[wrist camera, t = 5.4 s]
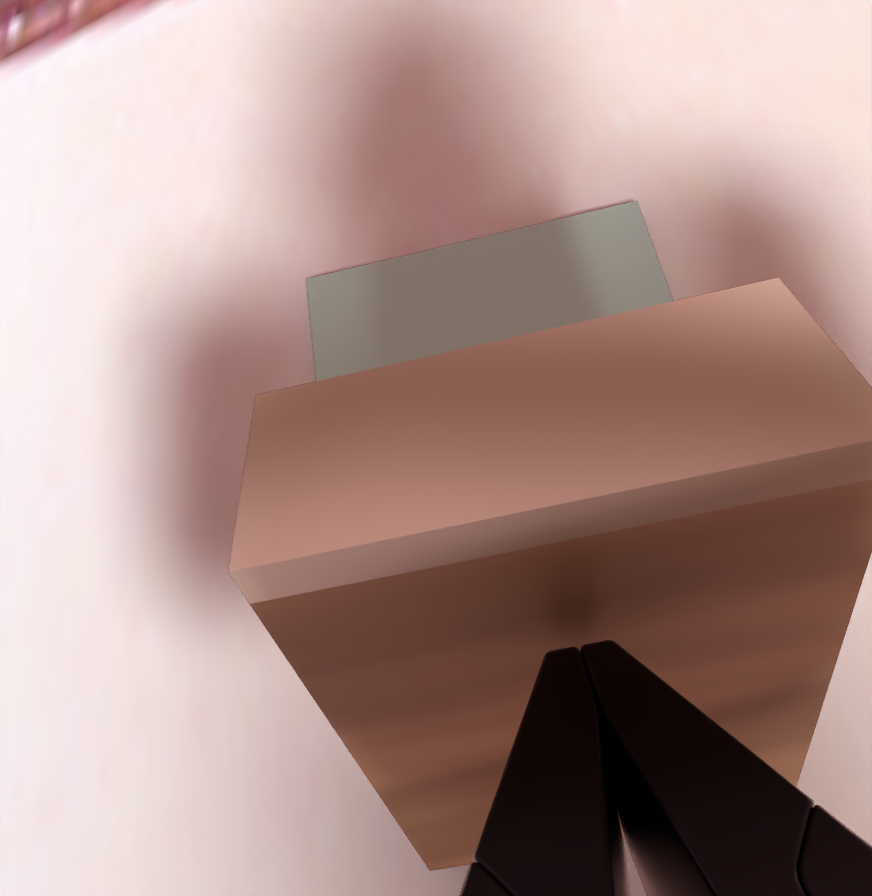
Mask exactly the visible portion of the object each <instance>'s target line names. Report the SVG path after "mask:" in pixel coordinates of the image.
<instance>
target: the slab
mask: <svg viewBox="0 0 872 896" xmlns="http://www.w3.org/2000/svg"><path fill="white" fill-rule="evenodd" d="M871 552H872V387H871V386H870V385H869V383H868V382H867V381H866V380H865V379H864V378H863V376H862V375H861V374H860V373H859V372H858V370H857V369H856V368H855V367H854V366H853V365H852V363H851V362H850V361H849V360H848V359H847V357H846V356H845V355H844V354H843V353H842V352H841V350H840V349H839V348H838V347H837V346H836V345H835V343H834V342H833V341H832V340H831V339H830V337H829V336H828V335H827V334H826V333H825V332H824V330H823V329H822V328H821V327H820V326H819V324H818V323H817V322H816V321H815V320H814V319H813V317H812V316H811V315H810V314H809V313H808V312H807V310H806V309H805V308H804V307H803V306H802V304H801V303H800V302H799V301H798V300H797V299H796V297H795V296H794V295H793V294H792V293H791V291H790V290H789V289H788V288H787V287H786V286H785V284H784V283H783V282H782V281H781V280H780V279H779V278H774V279H770V280H765V281H761V282H756V283H752V284H747V285H743V286H739V287H734V288H730V289H725V290H721V291H716V292H712V293H707V294H703V295H698V296H694V297H690V298H685V299H681V300H676V301H672V302H667V303H663V304H658V305H654V306H650V307H645V308H641V309H636V310H632V311H627V312H623V313H618V314H614V315H609V316H605V317H601V318H596V319H592V320H587V321H583V322H578V323H574V324H569V325H565V326H560V327H556V328H552V329H547V330H543V331H538V332H534V333H529V334H525V335H520V336H516V337H512V338H507V339H503V340H498V341H494V342H489V343H485V344H480V345H476V346H471V347H467V348H463V349H458V350H454V351H449V352H445V353H440V354H436V355H431V356H427V357H422V358H418V359H414V360H409V361H405V362H400V363H396V364H391V365H387V366H382V367H378V368H374V369H369V370H365V371H360V372H356V373H351V374H347V375H342V376H338V377H333V378H329V379H325V380H320V381H316V382H311V383H307V384H302V385H298V386H293V387H289V388H284V389H280V390H276V391H271V392H267V393H262V394H258V395H256V397H255V403H254V409H253V416H252V422H251V428H250V435H249V441H248V447H247V454H246V460H245V467H244V473H243V479H242V486H241V492H240V498H239V505H238V511H237V517H236V524H235V530H234V537H233V543H232V549H231V556H230V562H229V568H228V573H229V574H230V576H231V577H232V579H233V580H234V582H235V583H236V585H237V586H238V588H239V589H240V591H241V592H242V594H243V595H244V597H245V598H246V599H247V601H248V602H249V604H250V605H251V607H252V608H253V610H254V611H255V613H256V614H257V616H258V617H259V619H260V620H261V622H262V623H263V625H264V626H265V628H266V629H267V630H268V632H269V633H270V635H271V636H272V638H273V639H274V641H275V642H276V644H277V645H278V647H279V648H280V650H281V651H282V653H283V654H284V656H285V657H286V659H287V660H288V662H289V663H290V664H291V666H292V667H293V669H294V670H295V672H296V673H297V675H298V676H299V678H300V679H301V681H302V682H303V684H304V685H305V687H306V688H307V690H308V691H309V693H310V694H311V696H312V697H313V698H314V700H315V701H316V703H317V704H318V706H319V707H320V709H321V710H322V712H323V713H324V715H325V716H326V718H327V719H328V721H329V722H330V724H331V725H332V727H333V728H334V729H335V731H336V732H337V734H338V735H339V737H340V738H341V740H342V741H343V743H344V744H345V746H346V747H347V749H348V750H349V752H350V753H351V755H352V756H353V758H354V759H355V761H356V762H357V763H358V765H359V766H360V768H361V769H362V771H363V772H364V774H365V775H366V777H367V778H368V780H369V781H370V783H371V784H372V786H373V787H374V789H375V790H376V792H377V793H378V795H379V796H380V797H381V799H382V800H383V802H384V803H385V805H386V806H387V808H388V809H389V811H390V812H391V814H392V815H393V817H394V818H395V820H396V821H397V823H398V824H399V826H400V827H401V828H402V830H403V831H404V833H405V834H406V836H407V837H408V839H409V840H410V842H411V843H412V845H413V846H414V848H415V849H416V851H417V852H418V854H419V855H420V857H421V858H422V860H423V861H424V862H425V864H426V865H427V867H428V868H429V870H430V871H431V870H438V869H444V868H450V867H456V866H462V865H468V864H471V863H472V862H474V861H473V856H474V853H475V850H476V848H477V845H478V842H479V839H480V836H481V833H482V831H483V828H484V825H485V822H486V819H487V816H488V814H489V811H490V808H491V805H492V802H493V799H494V797H495V794H496V791H497V788H498V785H499V782H500V780H501V777H502V774H503V771H504V768H505V765H506V763H507V760H508V757H509V754H510V751H511V749H512V746H513V743H514V740H515V737H516V734H517V732H518V729H519V726H520V723H521V720H522V717H523V715H524V712H525V709H526V706H527V703H528V700H529V698H530V695H531V692H532V689H533V686H534V683H535V681H536V678H537V675H538V672H539V669H540V666H541V664H542V661H543V658H544V656H545V654H546V653H547V652H548V651H551V650H557V649H562V648H567V647H577V648H578V649H579V650H580V648H581V646H582V645H584V644H589V643H594V642H599V641H605V640H612V641H615V642H616V643H617V644H618V645H620V646H621V647H622V648H623V649H625V650H626V651H627V652H628V653H630V654H631V655H632V656H633V657H635V658H636V659H637V660H638V661H640V662H641V663H642V664H643V665H645V666H646V667H647V668H648V669H650V670H651V671H652V672H653V673H655V674H656V675H657V676H658V677H660V678H661V679H662V680H663V681H665V682H666V683H667V684H668V685H670V686H671V687H672V688H673V689H675V690H676V691H677V692H678V693H680V694H681V695H682V696H683V697H685V698H686V699H687V700H688V701H690V702H691V703H692V704H693V705H695V706H696V707H697V708H698V709H700V710H701V711H702V712H703V713H705V714H706V715H707V716H708V717H710V718H711V719H712V720H713V721H715V722H716V723H717V724H718V725H720V726H721V727H722V728H723V729H725V730H726V731H727V732H728V733H730V734H731V735H732V736H733V737H735V738H736V739H737V740H738V741H740V742H741V743H742V744H743V745H745V746H746V747H747V748H748V749H750V750H751V751H752V752H753V753H755V754H756V755H757V756H758V757H760V758H761V759H762V760H763V761H765V762H766V763H767V764H768V765H770V766H771V767H772V768H773V769H775V770H776V771H777V772H778V773H780V774H781V775H782V776H783V777H785V778H786V779H787V780H788V781H790V782H791V783H792V784H793V785H795V786H797V782H798V779H799V776H800V773H801V770H802V767H803V764H804V761H805V758H806V755H807V751H808V748H809V745H810V742H811V739H812V736H813V733H814V730H815V727H816V723H817V720H818V717H819V714H820V711H821V708H822V705H823V702H824V699H825V695H826V692H827V689H828V686H829V683H830V680H831V677H832V674H833V671H834V667H835V664H836V661H837V658H838V655H839V652H840V649H841V646H842V643H843V640H844V636H845V633H846V630H847V627H848V624H849V621H850V618H851V615H852V612H853V608H854V605H855V602H856V599H857V596H858V593H859V590H860V587H861V584H862V580H863V577H864V574H865V571H866V568H867V565H868V562H869V559H870V556H871ZM619 821H620V819H619ZM620 826H621V823H620ZM621 832H622V837H623V839H625V836H624V833H623V830H622V826H621Z"/></svg>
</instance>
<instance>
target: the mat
mask: <svg viewBox="0 0 872 896" xmlns="http://www.w3.org/2000/svg"><path fill="white" fill-rule="evenodd" d="M306 286H307V296H308V306H309V316H310V326H311V336H312V345H313V355H314V365H315V375H316V381H320V380H325V379H329V378H333V377H338V376H342V375H347V374H351V373H356V372H360V371H365V370H369V369H374V368H378V367H382V366H387V365H391V364H396V363H400V362H405V361H409V360H414V359H418V358H422V357H427V356H431V355H436V354H440V353H445V352H449V351H454V350H458V349H463V348H467V347H471V346H476V345H480V344H485V343H489V342H494V341H498V340H503V339H507V338H512V337H516V336H520V335H525V334H529V333H534V332H538V331H543V330H547V329H552V328H556V327H560V326H565V325H569V324H574V323H578V322H583V321H587V320H592V319H596V318H601V317H605V316H609V315H614V314H618V313H623V312H627V311H632V310H636V309H641V308H645V307H650V306H654V305H658V304H663V303H667V302H672V301H673V299H672V296H671V293H670V290H669V288H668V285H667V282H666V279H665V277H664V274H663V271H662V268H661V266H660V263H659V260H658V257H657V255H656V252H655V249H654V246H653V244H652V241H651V238H650V235H649V233H648V230H647V227H646V224H645V221H644V219H643V216H642V213H641V210H640V208H639V205H638V202H637V201H633V202H629V203H625V204H620V205H616V206H612V207H608V208H603V209H599V210H595V211H591V212H587V213H582V214H578V215H574V216H570V217H565V218H561V219H557V220H553V221H548V222H544V223H540V224H536V225H532V226H527V227H523V228H519V229H515V230H510V231H506V232H502V233H498V234H494V235H489V236H485V237H481V238H477V239H472V240H468V241H464V242H460V243H455V244H451V245H447V246H443V247H439V248H434V249H430V250H426V251H422V252H417V253H413V254H409V255H405V256H400V257H396V258H392V259H388V260H384V261H379V262H375V263H371V264H367V265H362V266H358V267H354V268H350V269H346V270H341V271H337V272H333V273H329V274H324V275H320V276H316V277H312V278H307V279H306Z"/></svg>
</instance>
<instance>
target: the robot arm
mask: <svg viewBox="0 0 872 896" xmlns="http://www.w3.org/2000/svg"><path fill="white" fill-rule="evenodd" d="M619 819H620V821H619ZM620 823H621V826H622V830H623V833H624V836H625V839H626V842H627V844H628V847H629V850H630V853H631V856H632V858H633V861H634V863H635V866H636V869H637V871H638V874H639V876H640V879H641V881H642V884H643V887H644V889H645V892H646V894H647V896H872V846H871V845H870V844H868V843H867V842H866V841H864V840H863V839H862V838H860V837H859V836H858V835H856V834H855V833H854V832H852V831H851V830H850V829H849V828H847V827H846V826H845V825H844V824H842V823H841V822H840V821H839V820H837V819H836V818H835V817H834V816H832V815H831V814H830V813H829V812H827V811H826V810H825V809H824V808H822V807H821V806H819V805H814V801H813V800H812V799H811V798H809V797H808V796H807V795H806V794H804V793H803V792H802V791H801V790H799V789H798V788H797V787H796V786H795V785H793V784H792V783H791V782H790V781H788V780H787V779H786V778H785V777H783V776H782V775H781V774H780V773H778V772H777V771H776V770H775V769H773V768H772V767H771V766H770V765H768V764H767V763H766V762H765V761H763V760H762V759H761V758H760V757H758V756H757V755H756V754H755V753H753V752H752V751H751V750H750V749H748V748H747V747H746V746H745V745H743V744H742V743H741V742H740V741H738V740H737V739H736V738H735V737H733V736H732V735H731V734H730V733H728V732H727V731H726V730H725V729H723V728H722V727H721V726H720V725H718V724H717V723H716V722H715V721H713V720H712V719H711V718H710V717H708V716H707V715H706V714H705V713H703V712H702V711H701V710H700V709H698V708H697V707H696V706H695V705H693V704H692V703H691V702H690V701H688V700H687V699H686V698H685V697H683V696H682V695H681V694H680V693H678V692H677V691H676V690H675V689H673V688H672V687H671V686H670V685H668V684H667V683H666V682H665V681H663V680H662V679H661V678H660V677H658V676H657V675H656V674H655V673H653V672H652V671H651V670H650V669H648V668H647V667H646V666H645V665H643V664H642V663H641V662H640V661H638V660H637V659H636V658H635V657H633V656H632V655H631V654H630V653H628V652H627V651H626V650H625V649H623V648H622V647H621V646H620V645H618V644H617V643H616V642H615V641H612V640H605V641H599V642H594V643H589V644H584V645H582V646H581V648H580V650H579V649H578V648H577V647H567V648H562V649H557V650H551V651H548V652H547V653H546V654H545V656H544V658H543V661H542V664H541V666H540V669H539V672H538V675H537V678H536V681H535V683H534V686H533V689H532V692H531V695H530V698H529V700H528V703H527V706H526V709H525V712H524V715H523V717H522V720H521V723H520V726H519V729H518V732H517V734H516V737H515V740H514V743H513V746H512V749H511V751H510V754H509V757H508V760H507V763H506V765H505V768H504V771H503V774H502V777H501V780H500V782H499V785H498V788H497V791H496V794H495V797H494V799H493V802H492V805H491V808H490V811H489V814H488V816H487V819H486V822H485V825H484V828H483V831H482V833H481V836H480V839H479V842H478V845H477V848H476V850H475V853H474V856H473V861H474V862H472V863H471V864H470V866H469V869H468V872H467V875H466V878H465V881H464V883H463V886H462V889H461V892H460V895H459V896H631V894H630V886H629V879H628V871H627V864H626V856H625V850H624V844H623V837H622V832H621V826H620Z"/></svg>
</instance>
